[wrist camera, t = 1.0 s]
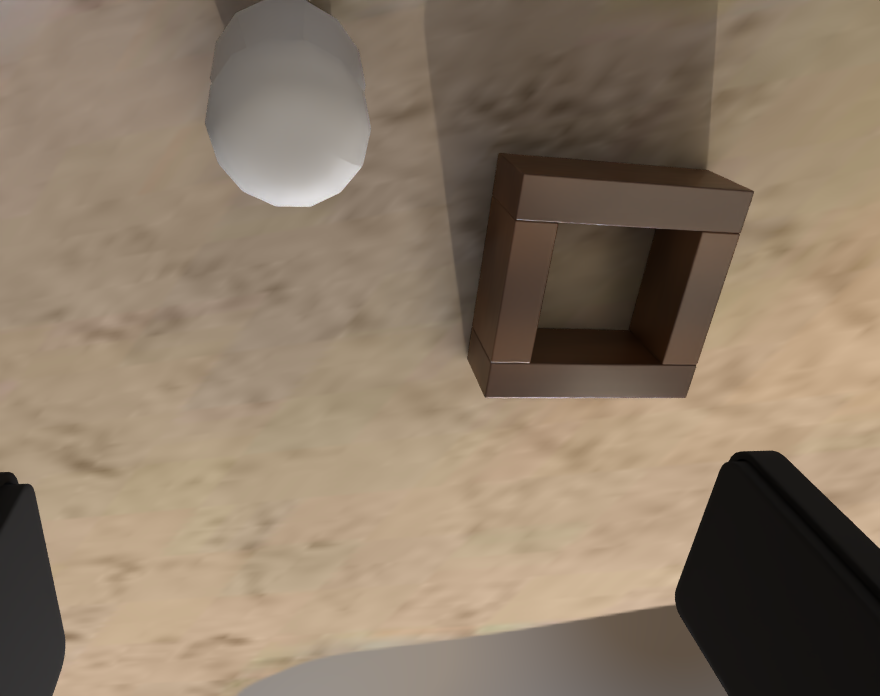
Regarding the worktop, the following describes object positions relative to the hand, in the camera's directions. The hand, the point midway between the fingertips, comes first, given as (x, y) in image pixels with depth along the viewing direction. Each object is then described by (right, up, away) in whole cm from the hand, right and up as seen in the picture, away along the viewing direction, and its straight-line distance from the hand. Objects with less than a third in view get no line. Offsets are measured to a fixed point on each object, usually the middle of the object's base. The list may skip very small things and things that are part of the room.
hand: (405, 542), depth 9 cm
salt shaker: (-6, +14, +19) cm, 25 cm away
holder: (+8, +7, +26) cm, 28 cm away
